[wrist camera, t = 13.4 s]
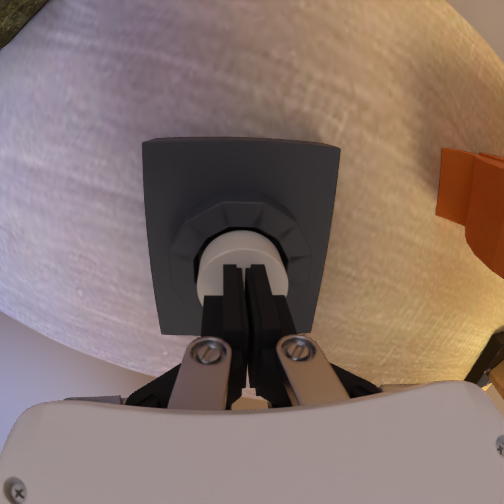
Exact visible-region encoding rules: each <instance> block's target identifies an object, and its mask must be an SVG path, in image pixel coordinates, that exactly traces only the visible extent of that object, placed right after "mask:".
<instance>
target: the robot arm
mask: <svg viewBox="0 0 504 504" xmlns="http://www.w3.org/2000/svg"><path fill="white" fill-rule="evenodd" d="M247 366H248V375H249V384H250V388H255V390H256V396H261V397H263V398H264V399H266V400H267V401H268V408H269V409H254V410H232V403H234V402H235V401H236V400H237V399H239V398H240V397H241V395H242V388H246V376H247ZM0 504H504V417H503V416H502V414H501V412H500V411H499V410H498V408H497V407H496V405H495V404H494V403H493V401H492V400H491V399H490V397H489V396H488V395H487V394H486V393H485V392H484V391H483V390H482V389H481V388H480V387H479V386H477V385H476V384H474V383H471V382H467V381H460V380H443V381H434V382H428V383H422V384H384V385H381V386H380V387H376V386H375V385H374V384H372V383H371V382H369V381H367V380H365V379H362V378H360V377H358V376H356V375H354V374H352V373H350V372H348V371H346V370H344V369H342V368H340V367H338V366H336V365H334V364H332V363H330V362H329V361H328V360H327V358H326V356H325V355H324V353H323V351H322V350H321V348H320V346H319V345H318V344H317V342H316V341H315V340H313V339H312V338H310V337H308V336H305V335H300V334H297V332H296V329H295V325H294V322H293V319H292V316H291V313H290V310H289V307H288V304H287V300H286V297H285V295H272V291H271V287H270V283H269V280H268V276H267V272H266V268H265V265H264V264H251V266H250V268H246V269H245V291H244V283H243V275H242V268H237V265H236V264H223V295H204V301H203V313H202V325H201V337H200V338H197V339H195V340H193V341H192V342H191V343H190V344H189V345H188V347H187V348H186V351H185V354H184V357H183V360H182V363H180V364H179V365H177V366H176V367H174V368H172V369H171V370H169V371H168V372H166V373H164V374H163V375H161V376H160V377H158V378H156V379H155V380H153V381H152V382H150V383H148V384H147V385H145V386H143V387H142V388H140V389H138V390H137V391H135V392H134V393H132V394H131V395H130V396H129V397H128V398H121V396H120V395H118V396H101V397H72V398H66V399H64V400H57V401H51V402H44V403H40V404H37V405H34V406H32V407H30V408H28V409H26V410H25V411H24V412H23V413H22V414H21V415H20V416H19V417H18V419H17V421H16V422H15V424H14V425H13V427H12V429H11V431H10V433H9V435H8V437H7V440H6V442H5V444H4V447H3V450H2V452H1V455H0Z"/></svg>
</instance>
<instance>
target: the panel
mask: <svg viewBox="0 0 504 504" xmlns="http://www.w3.org/2000/svg"><path fill="white" fill-rule="evenodd" d="M503 360H504V331H503V332H500V333H497V334H494V335H493V336H492V337H491V339H490V341H489V343H488V344H487V346H486V348H485V350H484V351H483V353H482V355H481V356H480V358H479V359H478V361H477V363H476V364H475V366H474V367H473V369H472V370H471V372H470V373H469V375H468V376H467V378H466V379H465V381H467V382H471V383H474V384H476V385H477V386H479V387H480V388H482V387H484V386H487V385H488V384H490V383H492V382H491V381H490V379H489V378H488V376H489V373H490V371H491V370H492V369H493V368H495V367H496V366H497V365H498V364H499V363H500V362H502V361H503Z"/></svg>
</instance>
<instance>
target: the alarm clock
mask: <svg viewBox="0 0 504 504" xmlns="http://www.w3.org/2000/svg"><path fill="white" fill-rule="evenodd" d="M436 215H438V216H440V217H443V218H446V219H448V220H451V221H453V222H456V223H458V224H461V225H463V226H465V237H466V242H467V243H468V245H469V246H470V248H471V250H472V251H473V253H474V254H475V255H476V256H477V257H478V258H479V259H480V260H481V261H482V262H483V263H484V264H485V265H486V266H487V267H488V268H489V269H490V270H492V271H493V272H494V273H496V274H497V275H499V276H500V277H502V278H503V279H504V157H499V156H494V155H489V154H484V153H479V155H478V154H474V153H470V152H466V151H461V150H456V149H449V148H442V161H441V174H440V185H439V194H438V202H437V209H436Z"/></svg>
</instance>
